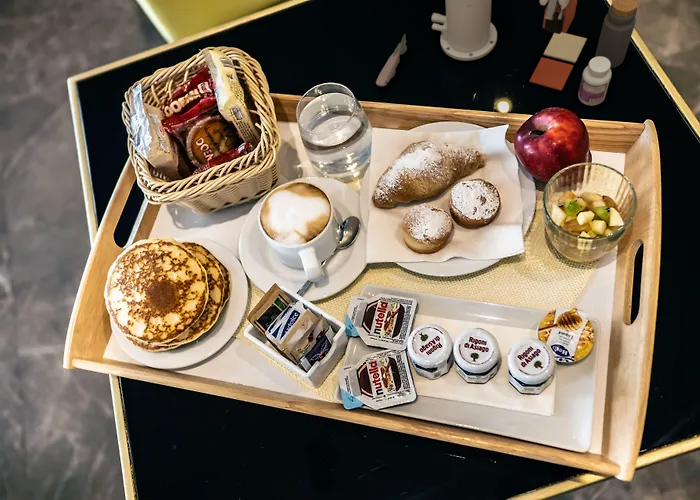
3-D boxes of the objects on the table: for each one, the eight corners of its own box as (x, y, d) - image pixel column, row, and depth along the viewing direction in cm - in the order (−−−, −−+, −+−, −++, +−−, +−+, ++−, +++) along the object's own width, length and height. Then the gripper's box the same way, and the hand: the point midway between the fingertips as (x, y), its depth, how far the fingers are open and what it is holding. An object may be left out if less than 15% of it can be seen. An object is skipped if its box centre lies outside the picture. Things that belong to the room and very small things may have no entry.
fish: (412, 50, 139) (410, 34, 135) (386, 96, 135) (383, 80, 130) (401, 47, 140) (399, 31, 136) (375, 93, 136) (372, 77, 131)
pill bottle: (585, 82, 127) (593, 49, 118) (609, 91, 125) (619, 58, 116) (572, 100, 126) (580, 68, 117) (597, 110, 124) (606, 78, 115)
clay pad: (529, 82, 130) (529, 80, 129) (541, 58, 132) (541, 56, 131) (561, 91, 127) (561, 89, 127) (573, 66, 129) (573, 65, 129)
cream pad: (543, 54, 132) (543, 53, 132) (555, 32, 134) (555, 30, 134) (575, 63, 130) (575, 61, 129) (586, 39, 132) (586, 38, 131)
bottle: (623, 68, 127) (641, 13, 113) (594, 68, 128) (608, 13, 115) (624, 47, 129) (641, -10, 116) (595, 46, 131) (609, -10, 117)
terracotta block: (565, 33, 114) (568, 15, 110) (542, 27, 116) (544, 9, 112) (574, 16, 116) (577, -3, 112) (551, 11, 117) (554, -8, 113)
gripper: (568, -101, 103) (555, -13, 120) (529, -34, 98) (521, 48, 114) (612, -93, 101) (593, -5, 117) (575, -24, 96) (560, 58, 112)
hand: (558, 20), depth 115 cm, fingers closed on terracotta block, 4 cm apart
